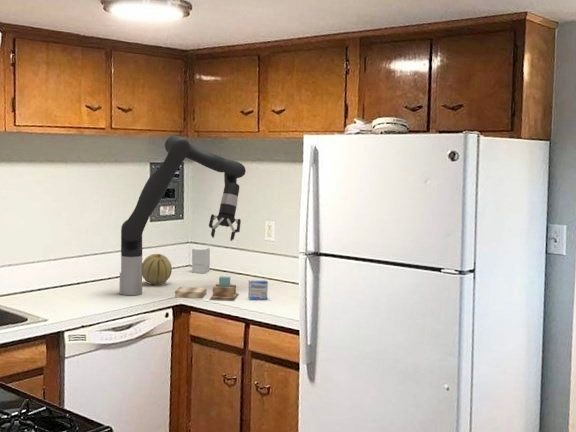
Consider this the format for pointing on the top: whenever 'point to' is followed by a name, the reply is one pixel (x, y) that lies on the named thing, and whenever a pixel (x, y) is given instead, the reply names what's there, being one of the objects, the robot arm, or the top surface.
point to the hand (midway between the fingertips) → (222, 239)
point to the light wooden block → (190, 292)
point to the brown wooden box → (224, 292)
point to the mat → (224, 300)
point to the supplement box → (200, 260)
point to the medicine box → (258, 289)
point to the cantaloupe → (156, 269)
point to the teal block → (224, 281)
